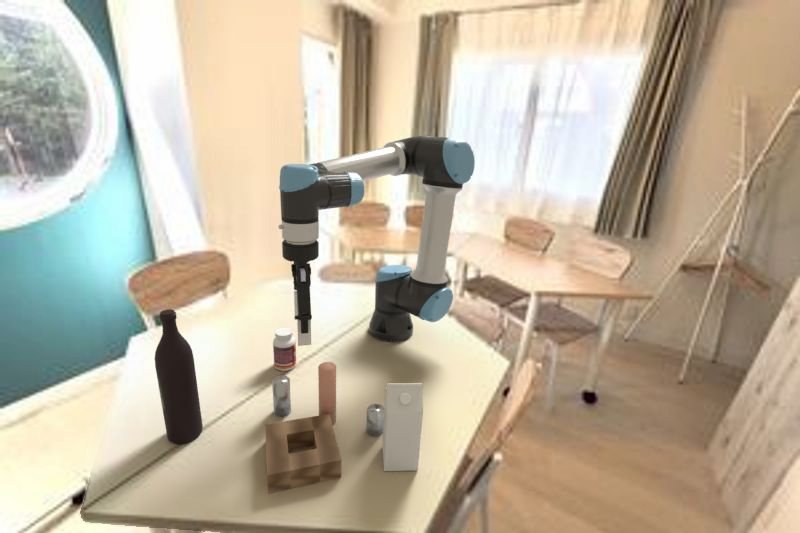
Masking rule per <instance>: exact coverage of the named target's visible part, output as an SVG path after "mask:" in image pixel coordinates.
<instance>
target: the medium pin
mask: <svg viewBox="0 0 800 533" xmlns="http://www.w3.org/2000/svg"><path fill="white" fill-rule="evenodd" d="M271 386H272V388H271V389H272V399H273V400H272V401H273V403H272V404H273V414H274V416H275V417H277V418H286V417H288V416H290V414H291V412H292V406H291V405H292V403H291V402H292V400H291V378H290V377H289V376H287V375H278V376H275V377H274V378H273V379H272V381H271Z"/></svg>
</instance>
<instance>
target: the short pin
mask: <svg viewBox="0 0 800 533" xmlns="http://www.w3.org/2000/svg"><path fill="white" fill-rule="evenodd" d="M365 420H366V423H365V425H366V426H365V432H366V435H367V436H370V437H371V438H375V437H380V436H383V422H384V406H383V405H382V404H381V403H379V404H378V403H372V404H371V403H370V404H369V405H368V406H367V408H366V419H365Z"/></svg>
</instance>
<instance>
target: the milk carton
mask: <svg viewBox="0 0 800 533" xmlns="http://www.w3.org/2000/svg"><path fill="white" fill-rule="evenodd" d="M383 403H384V406H383V407H384V422H383V433H382V442H381V443H382V445H381V446H382V461H383V462H382V464H383V471H384V472H408V471H418V470H419V463H420V462H419V460H420V449H421V448H420V447H421V439H422V438H421V437H422V430H423V429H422V428H423V419H424V418H423V416H424V402H423V383H422V382H417V383H416V382H412V383H411V382H408V383H407V382H403V383H402V382H401V383H399V382H397V383H395V382H393V383H390V382H389V383H388V382H387V383H386V388H385V389H384V402H383Z"/></svg>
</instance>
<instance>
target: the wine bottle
mask: <svg viewBox="0 0 800 533" xmlns="http://www.w3.org/2000/svg"><path fill="white" fill-rule="evenodd" d="M158 316H159V320H160V322H161V326H162V334H161V337H160V340H159V342H158V344H157V346H156V349H155V352H154V364H155V373H156V378H157V384H158V390H159V396H160V401H161V407H162V414H163V420H164V426H165V431H166V432H165V433H166V438H167V439H168V441H169V442H170V443H172V444H175V445H183V444H187V443H190V442H192V441H194V440H195V439H197V438H198V437H199V436H200V435H201V433H202V432H203V428H204V426H203V420H202V419H203V418H202V412H201V404H200V396H199V395H200V394H199V389H198V388H199V387H198V381H197V373H196V372H197V371H196V367H195V364H196V363H195V359H194V358H195V357H194V354H193V350H192V348H191V344H190V343H189V342H188V341H187V340H186V338H185V337H184V336H183V335H182V334H181V333H180V332H179V331H180V330H178V329H179V328H178V326H177V312H176V311H175V310H174V309H171V308H169V309H168V308H167V309H164V310H162V311H160V314H158Z"/></svg>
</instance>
